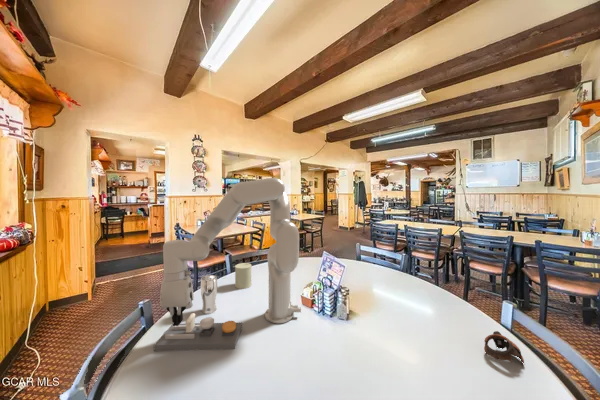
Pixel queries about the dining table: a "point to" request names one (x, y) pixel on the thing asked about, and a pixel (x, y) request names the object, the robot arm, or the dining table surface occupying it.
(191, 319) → the lever
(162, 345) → the panel
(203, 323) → the white rounded thick disc
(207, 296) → the tall white cup
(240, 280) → the can
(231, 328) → the orange button
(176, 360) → the dining table surface
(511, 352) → the brown looped piece
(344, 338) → the dining table surface
